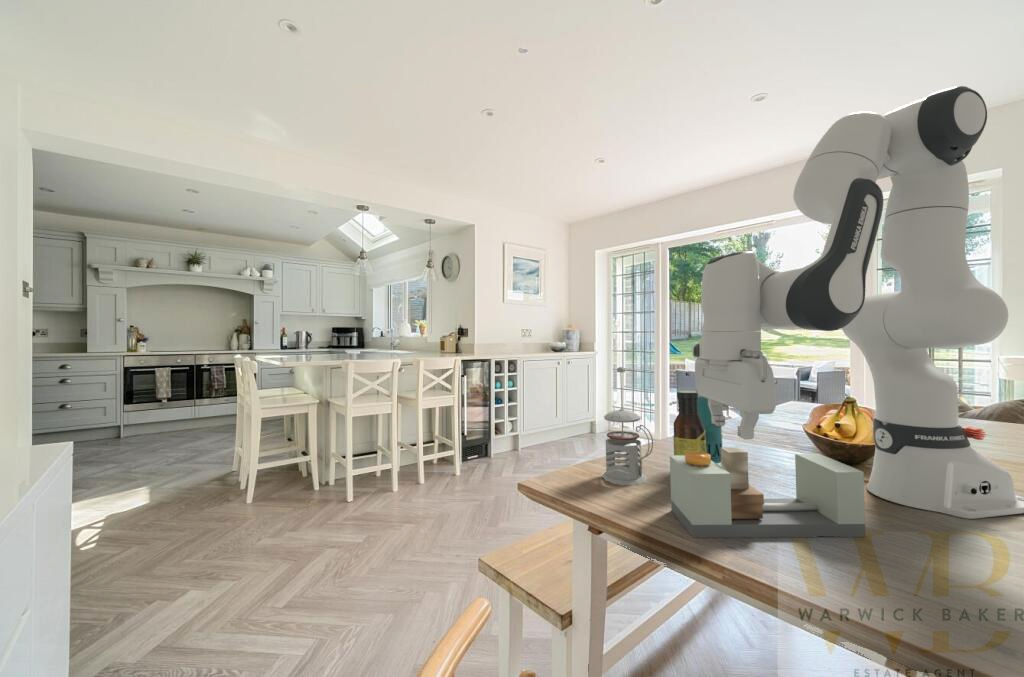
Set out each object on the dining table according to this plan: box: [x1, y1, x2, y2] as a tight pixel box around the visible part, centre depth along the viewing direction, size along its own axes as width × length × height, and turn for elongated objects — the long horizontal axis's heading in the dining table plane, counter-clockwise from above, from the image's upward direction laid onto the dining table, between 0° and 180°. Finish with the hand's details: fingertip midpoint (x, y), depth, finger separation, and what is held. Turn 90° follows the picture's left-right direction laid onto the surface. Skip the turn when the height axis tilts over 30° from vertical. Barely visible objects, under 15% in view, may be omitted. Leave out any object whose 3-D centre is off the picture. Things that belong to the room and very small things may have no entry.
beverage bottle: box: [697, 395, 723, 464], centre depth 98 cm, size 6×7×20 cm
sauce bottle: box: [672, 390, 706, 456], centre depth 86 cm, size 7×6×20 cm
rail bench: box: [669, 452, 867, 539], centre depth 68 cm, size 26×10×10 cm, turn 87°
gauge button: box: [685, 451, 711, 466], centre depth 69 cm, size 4×4×6 cm
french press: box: [602, 366, 654, 486], centre depth 91 cm, size 10×12×25 cm
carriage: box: [720, 446, 765, 519], centre depth 69 cm, size 5×8×10 cm, turn 177°
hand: (731, 431), depth 68 cm, fingers open, 8 cm apart
